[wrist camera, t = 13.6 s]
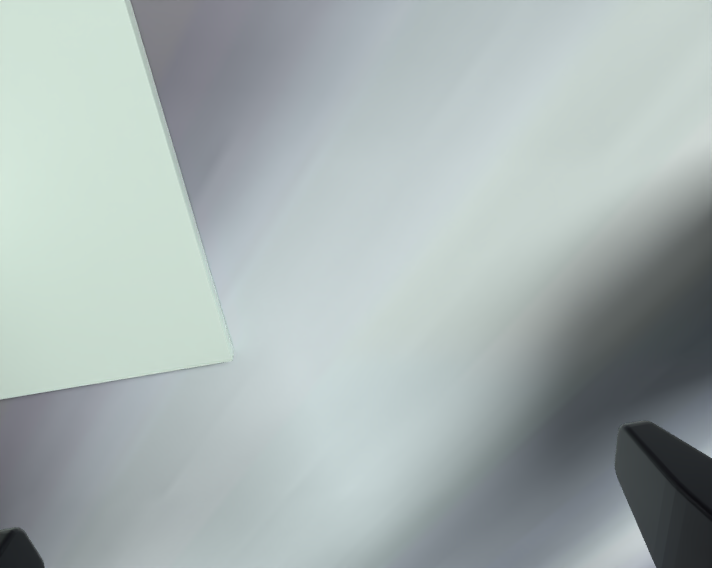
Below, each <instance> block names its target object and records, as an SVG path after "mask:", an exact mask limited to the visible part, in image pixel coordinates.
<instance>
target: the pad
mask: <svg viewBox="0 0 712 568" xmlns="http://www.w3.org/2000/svg"><path fill="white" fill-rule="evenodd" d="M233 354H234V350H233V347H232V343H231V340H230V337H229V333H228V330H227V327H226V323H225V320H224V316H223V313H222V310H221V306H220V303H219V299H218V296H217V293H216V289H215V286H214V283H213V279H212V276H211V272H210V269H209V266H208V262H207V259H206V256H205V252H204V249H203V245H202V242H201V239H200V235H199V232H198V228H197V225H196V222H195V218H194V215H193V212H192V208H191V205H190V201H189V198H188V195H187V191H186V188H185V184H184V181H183V178H182V174H181V171H180V168H179V164H178V161H177V157H176V154H175V151H174V147H173V144H172V140H171V137H170V134H169V130H168V127H167V124H166V120H165V117H164V113H163V110H162V107H161V103H160V100H159V97H158V93H157V90H156V86H155V83H154V80H153V76H152V73H151V69H150V66H149V63H148V59H147V56H146V53H145V49H144V46H143V42H142V39H141V36H140V32H139V29H138V25H137V22H136V19H135V15H134V12H133V9H132V5H131V2H130V0H0V399H6V398H12V397H18V396H24V395H30V394H36V393H42V392H48V391H54V390H60V389H66V388H72V387H78V386H84V385H90V384H96V383H102V382H108V381H114V380H120V379H126V378H132V377H138V376H144V375H150V374H156V373H162V372H168V371H174V370H180V369H186V368H192V367H198V366H204V365H210V364H216V363H222V362H228V361H233Z"/></svg>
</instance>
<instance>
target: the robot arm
mask: <svg viewBox="0 0 712 568" xmlns="http://www.w3.org/2000/svg"><path fill="white" fill-rule="evenodd" d="M615 470H616V474H617V478H618V480H619V483H620V485H621V487H622V490H623V492H624V494H625V497H626V499H627V501H628V504H629V506H630V508H631V511H632V513H633V515H634V517H635V520H636V522H637V524H638V527H639V529H640V531H641V534H642V536H643V538H644V541H645V543H646V545H647V548H648V550H649V552H650V555H651V557H652V559H653V561H654V564H655V566H656V568H712V458H710V457H709V456H707V455H705V454H704V453H702V452H700V451H699V450H697V449H695V448H694V447H692V446H690V445H689V444H687V443H685V442H684V441H682V440H680V439H679V438H677V437H675V436H674V435H672V434H670V433H669V432H667V431H666V430H664V429H662V428H661V427H659V426H657V425H656V424H654V423H652V422H649V421H638V422H632V423H626V424H623V425H621V426H620V428H619V430H618V436H617V445H616V455H615ZM0 568H45V567H44V563H43V560H42V558H41V557H40V555H39V553H38V552H37V550H36V549H35V547H34V545H33V544H32V542H31V540H30V539H29V537H28V536H27V534H26V533H25V531H24V530H22V529H20V528H16V527H15V528H9V529H3V530H0Z"/></svg>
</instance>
